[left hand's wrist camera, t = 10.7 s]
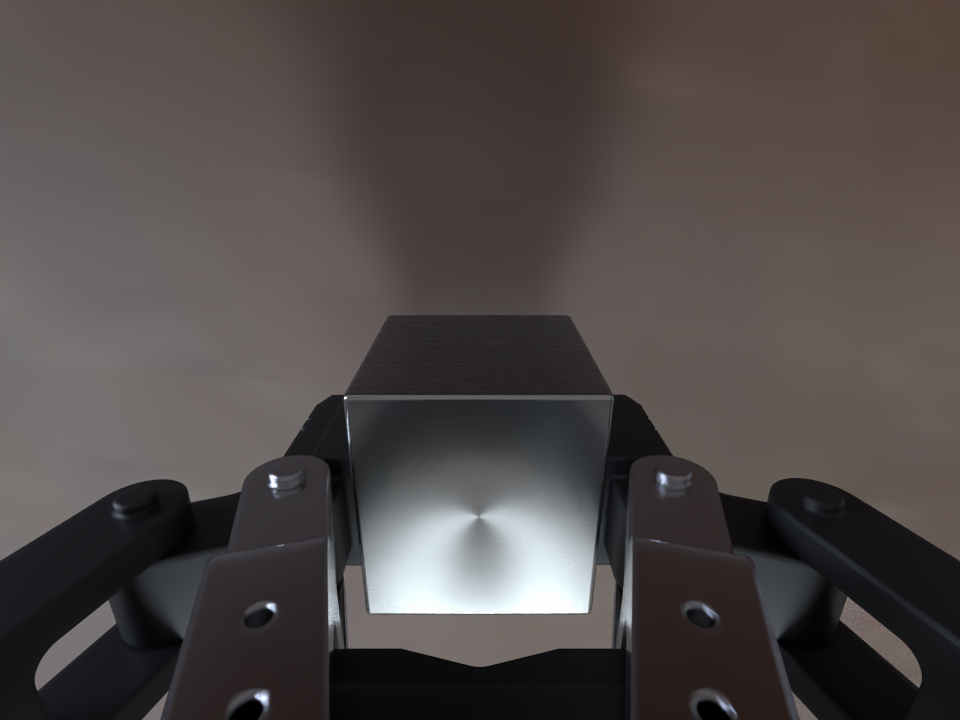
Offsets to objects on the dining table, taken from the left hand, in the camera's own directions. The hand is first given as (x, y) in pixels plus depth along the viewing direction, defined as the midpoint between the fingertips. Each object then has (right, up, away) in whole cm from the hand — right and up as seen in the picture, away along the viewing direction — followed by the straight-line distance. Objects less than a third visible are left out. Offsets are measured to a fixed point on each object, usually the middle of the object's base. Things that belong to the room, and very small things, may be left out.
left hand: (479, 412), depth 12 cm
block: (0, 0, 0) cm, 0 cm away
